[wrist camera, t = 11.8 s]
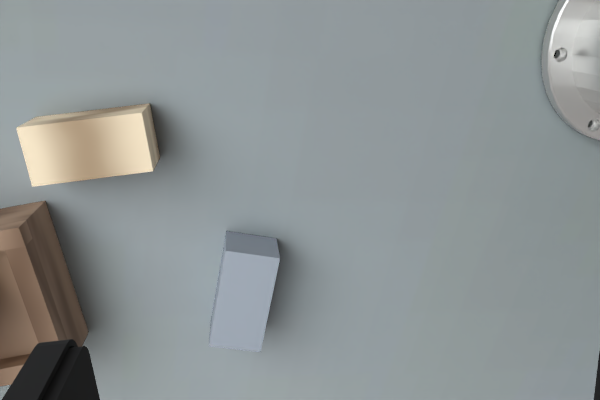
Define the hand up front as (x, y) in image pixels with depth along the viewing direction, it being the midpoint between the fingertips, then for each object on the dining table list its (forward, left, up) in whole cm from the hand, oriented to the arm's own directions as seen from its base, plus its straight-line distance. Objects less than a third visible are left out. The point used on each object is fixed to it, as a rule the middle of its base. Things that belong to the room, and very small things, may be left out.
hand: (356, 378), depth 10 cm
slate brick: (+3, +12, -28) cm, 31 cm away
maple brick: (+11, +1, -28) cm, 30 cm away
